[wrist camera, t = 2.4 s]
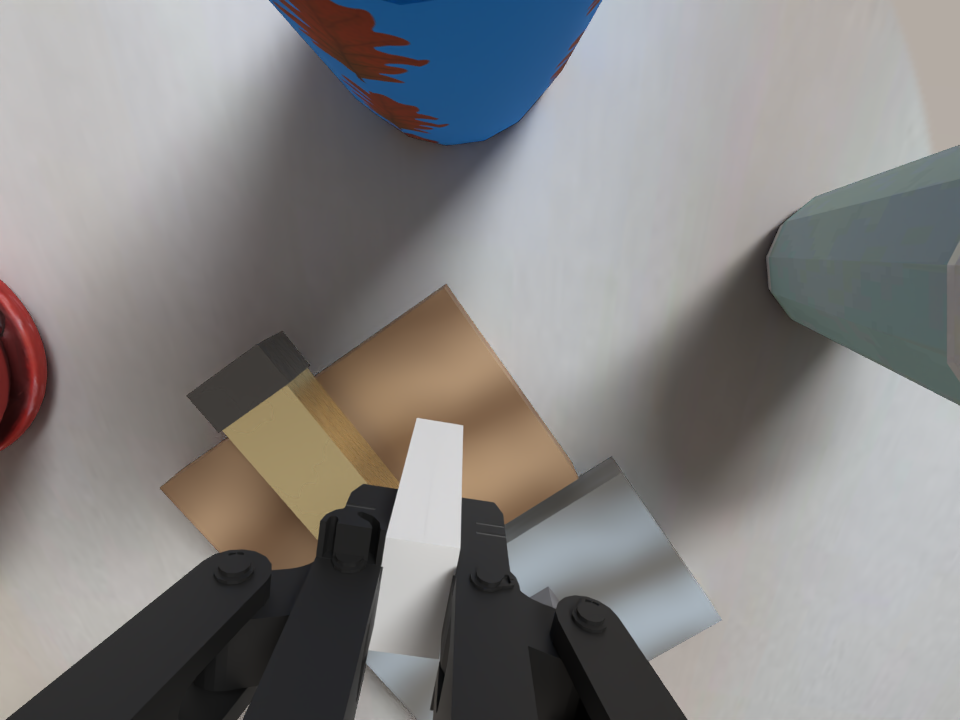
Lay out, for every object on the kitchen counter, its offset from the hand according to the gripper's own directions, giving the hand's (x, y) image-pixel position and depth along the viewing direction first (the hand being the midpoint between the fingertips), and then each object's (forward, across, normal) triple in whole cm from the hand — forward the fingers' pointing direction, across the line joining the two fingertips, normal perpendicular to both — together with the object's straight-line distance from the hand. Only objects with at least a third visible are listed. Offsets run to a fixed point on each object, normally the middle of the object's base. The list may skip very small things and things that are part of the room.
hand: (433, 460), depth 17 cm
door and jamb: (+11, -2, +10) cm, 15 cm away
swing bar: (+8, +4, +6) cm, 11 cm away
